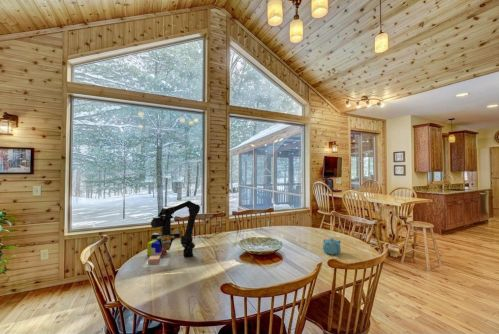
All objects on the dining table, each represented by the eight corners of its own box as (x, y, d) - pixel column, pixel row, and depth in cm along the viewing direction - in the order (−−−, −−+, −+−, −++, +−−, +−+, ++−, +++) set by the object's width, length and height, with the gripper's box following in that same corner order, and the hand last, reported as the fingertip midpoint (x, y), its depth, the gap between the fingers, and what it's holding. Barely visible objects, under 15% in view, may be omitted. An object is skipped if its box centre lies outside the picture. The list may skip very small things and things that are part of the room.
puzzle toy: (159, 257, 179) (159, 244, 179) (147, 256, 181) (147, 243, 182) (166, 252, 189) (166, 240, 189) (154, 251, 191) (155, 239, 191)
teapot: (332, 259, 179) (332, 243, 179) (315, 252, 193) (315, 237, 193) (349, 254, 190) (349, 239, 190) (331, 248, 204) (331, 234, 204)
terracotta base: (160, 259, 173) (160, 255, 173) (158, 263, 166) (158, 258, 166) (150, 260, 172) (150, 255, 172) (148, 263, 165) (148, 259, 165)
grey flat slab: (170, 259, 176) (170, 257, 176) (167, 266, 162) (167, 265, 162) (146, 260, 173) (146, 259, 173) (142, 268, 159) (142, 267, 159)
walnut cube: (170, 247, 170) (170, 240, 170) (169, 250, 165) (169, 242, 166) (162, 248, 169) (162, 241, 169) (161, 250, 164) (162, 243, 164)
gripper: (180, 222, 178) (180, 243, 177) (153, 223, 173) (153, 245, 173) (180, 225, 167) (179, 248, 167) (151, 227, 162) (151, 250, 162)
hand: (166, 247), depth 167 cm, fingers closed on walnut cube, 5 cm apart
